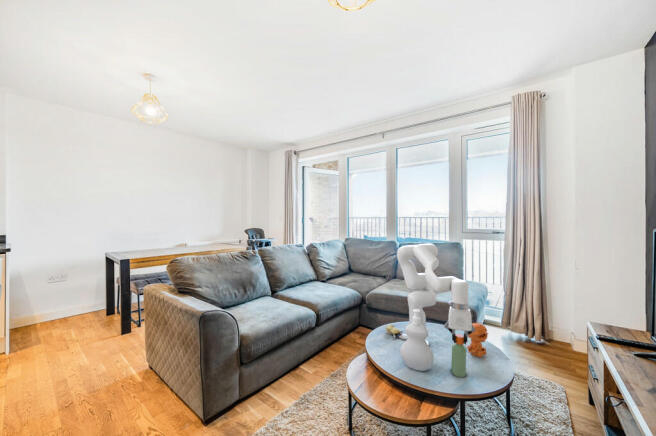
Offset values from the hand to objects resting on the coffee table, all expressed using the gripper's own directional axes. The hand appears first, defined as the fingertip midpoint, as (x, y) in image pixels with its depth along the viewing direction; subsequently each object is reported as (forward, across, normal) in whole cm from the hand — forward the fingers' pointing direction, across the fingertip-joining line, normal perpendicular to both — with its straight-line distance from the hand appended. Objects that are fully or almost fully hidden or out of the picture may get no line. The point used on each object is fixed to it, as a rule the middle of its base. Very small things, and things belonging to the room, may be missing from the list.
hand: (459, 342), depth 132 cm
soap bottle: (+16, -20, 0) cm, 26 cm away
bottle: (+16, -1, 0) cm, 16 cm away
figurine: (+16, -33, +32) cm, 49 cm away
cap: (0, 0, 0) cm, 1 cm away
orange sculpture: (+16, +12, +23) cm, 30 cm away
